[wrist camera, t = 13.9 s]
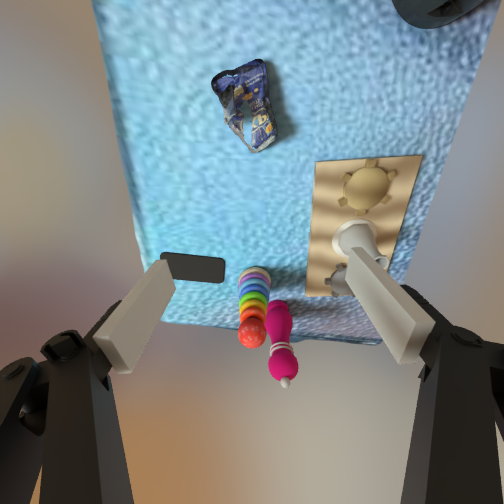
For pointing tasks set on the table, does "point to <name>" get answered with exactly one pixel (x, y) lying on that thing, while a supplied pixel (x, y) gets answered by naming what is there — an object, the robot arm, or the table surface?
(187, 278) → the phone
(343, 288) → the gear board
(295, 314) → the table surface
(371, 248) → the flask
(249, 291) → the stacking toy
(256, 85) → the snack package
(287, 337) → the pepper mill
